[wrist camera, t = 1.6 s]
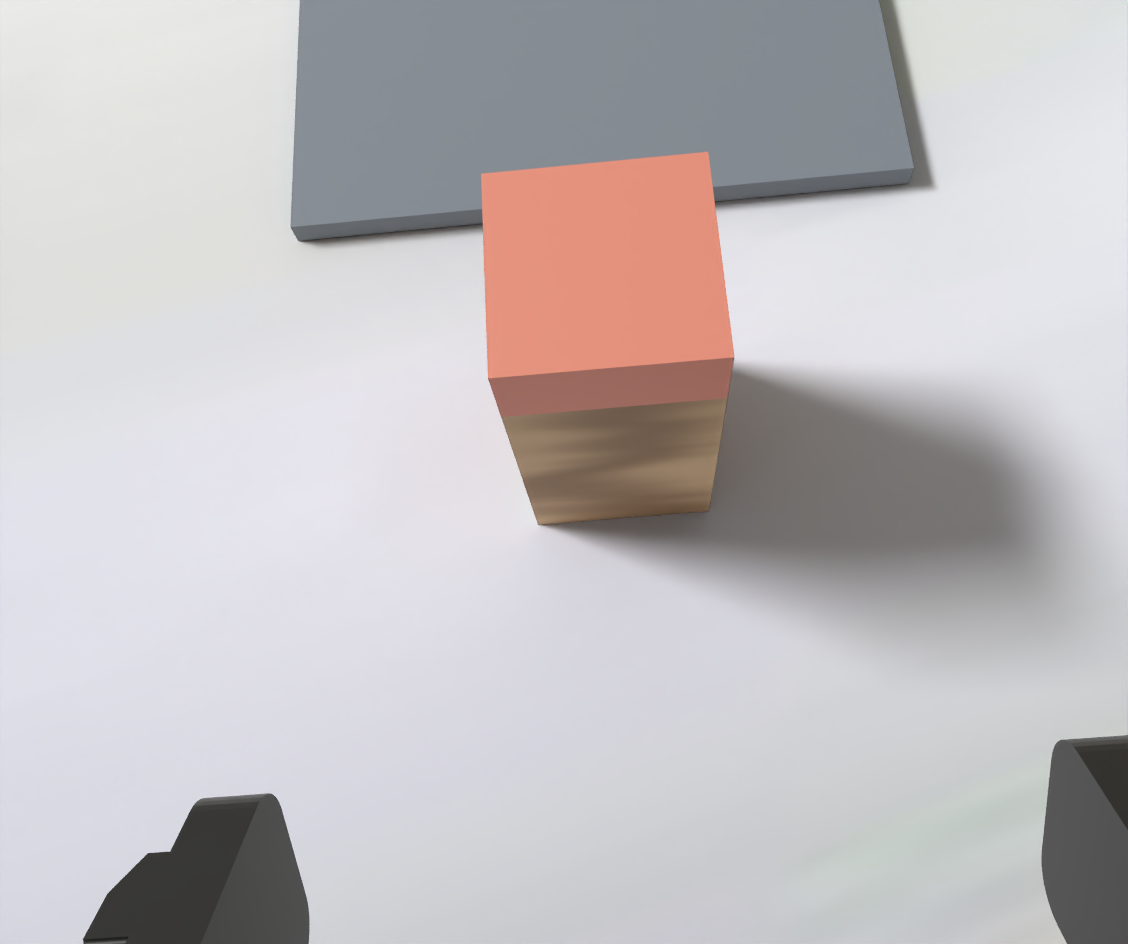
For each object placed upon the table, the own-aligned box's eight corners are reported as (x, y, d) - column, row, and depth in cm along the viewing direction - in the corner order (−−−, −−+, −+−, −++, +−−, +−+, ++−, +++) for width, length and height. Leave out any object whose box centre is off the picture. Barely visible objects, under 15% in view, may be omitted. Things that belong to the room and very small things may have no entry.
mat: (298, 240, 35) (290, 227, 34) (310, -76, 40) (303, -94, 39) (908, 183, 34) (914, 167, 33) (842, -135, 39) (846, -154, 38)
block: (538, 524, 31) (488, 378, 21) (530, 371, 32) (481, 173, 23) (708, 511, 30) (734, 357, 21) (691, 357, 32) (707, 151, 23)
